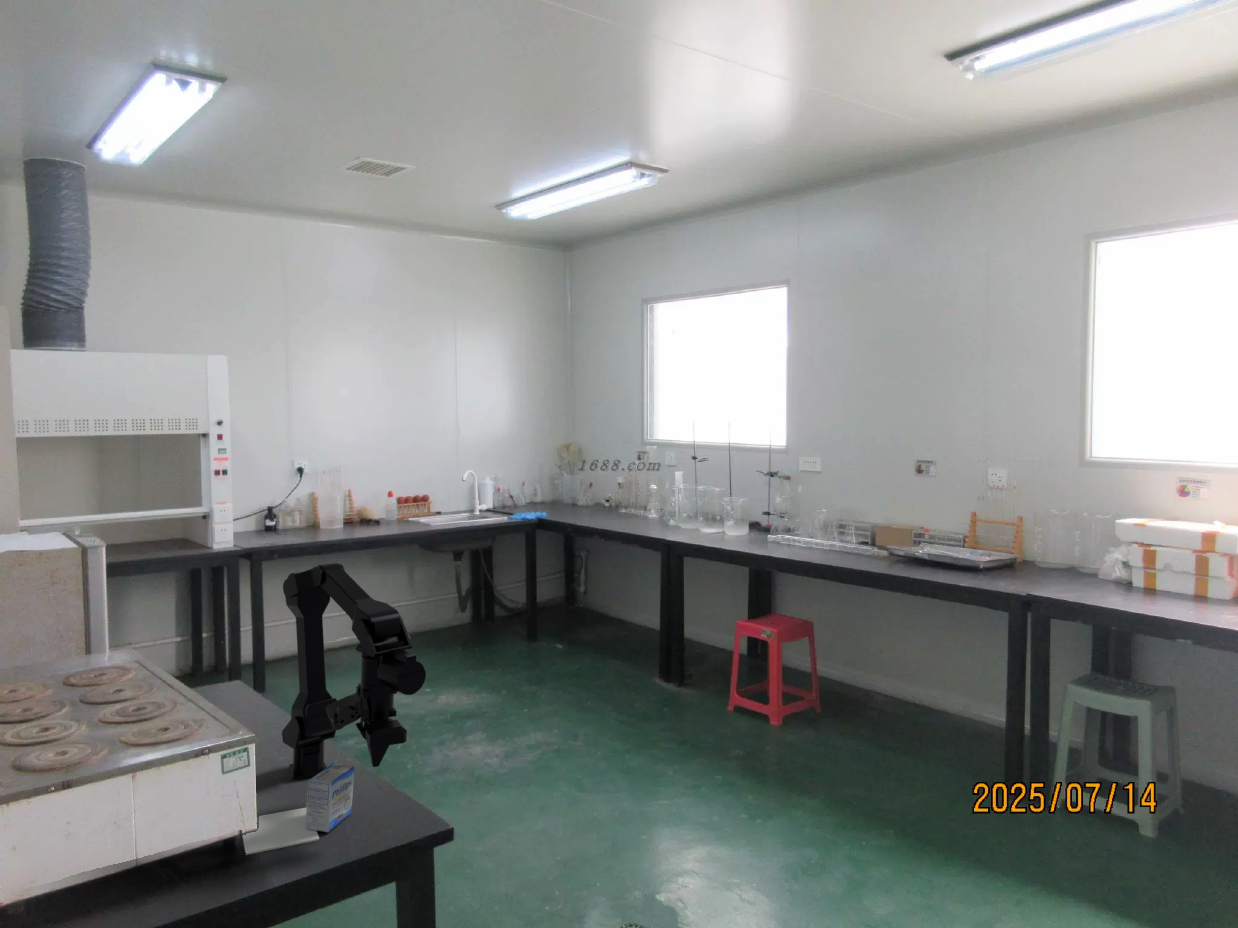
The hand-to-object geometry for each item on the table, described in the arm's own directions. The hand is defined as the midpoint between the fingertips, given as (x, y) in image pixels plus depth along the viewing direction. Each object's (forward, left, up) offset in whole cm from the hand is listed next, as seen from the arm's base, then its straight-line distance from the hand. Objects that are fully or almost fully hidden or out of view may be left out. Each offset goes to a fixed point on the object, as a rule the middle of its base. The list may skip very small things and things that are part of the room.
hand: (375, 765), depth 148 cm
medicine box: (+1, -8, -8) cm, 12 cm away
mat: (0, -16, -8) cm, 18 cm away
